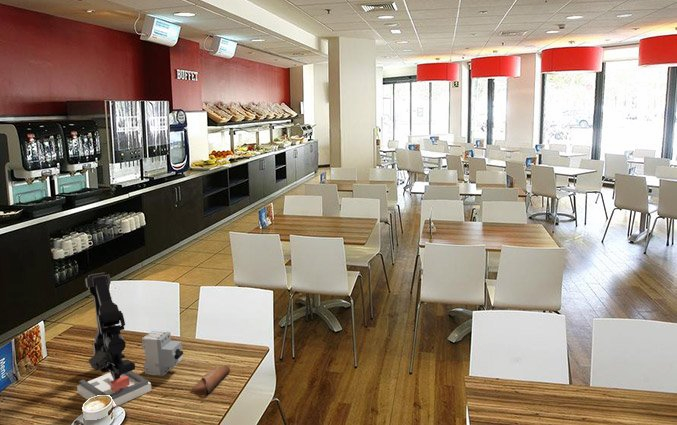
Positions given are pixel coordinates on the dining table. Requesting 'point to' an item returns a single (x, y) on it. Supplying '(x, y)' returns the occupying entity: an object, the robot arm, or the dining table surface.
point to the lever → (119, 383)
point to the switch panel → (104, 386)
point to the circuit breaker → (160, 352)
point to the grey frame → (122, 392)
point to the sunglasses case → (210, 380)
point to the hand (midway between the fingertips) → (116, 382)
